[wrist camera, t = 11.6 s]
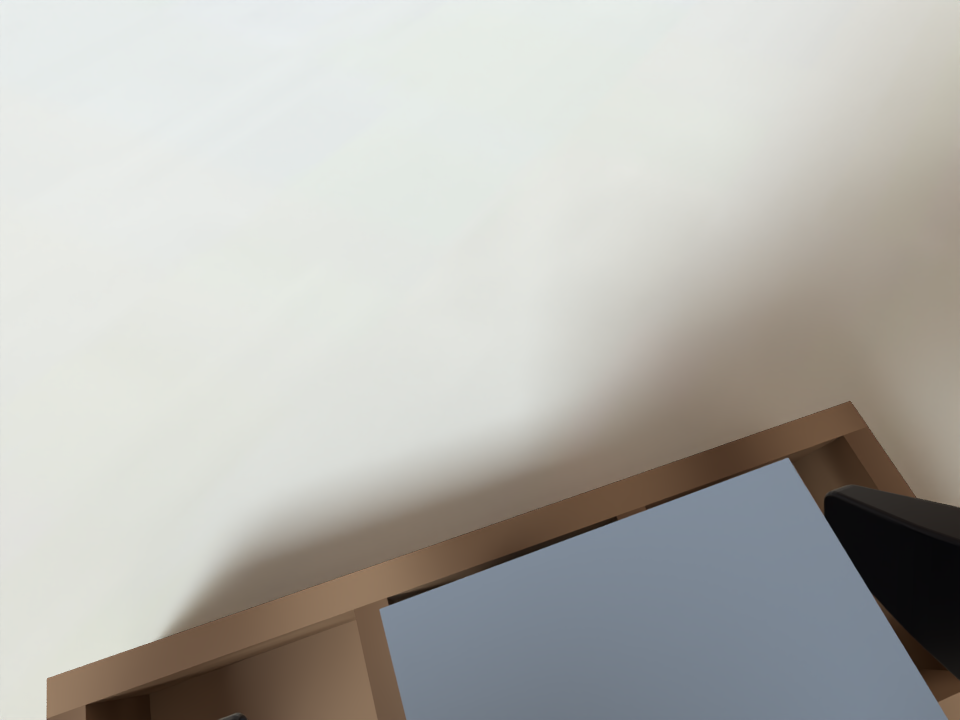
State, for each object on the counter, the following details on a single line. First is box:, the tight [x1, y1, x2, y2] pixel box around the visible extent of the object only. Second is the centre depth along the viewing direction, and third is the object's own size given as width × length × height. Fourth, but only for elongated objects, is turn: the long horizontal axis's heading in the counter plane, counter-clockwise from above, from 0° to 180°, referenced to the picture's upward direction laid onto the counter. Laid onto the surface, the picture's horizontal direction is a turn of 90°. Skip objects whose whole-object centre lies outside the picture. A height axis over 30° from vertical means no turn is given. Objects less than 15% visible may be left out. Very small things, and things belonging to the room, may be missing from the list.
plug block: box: [379, 458, 948, 720], centre depth 10 cm, size 4×4×12 cm
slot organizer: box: [47, 401, 960, 720], centre depth 14 cm, size 21×8×4 cm, turn 109°
